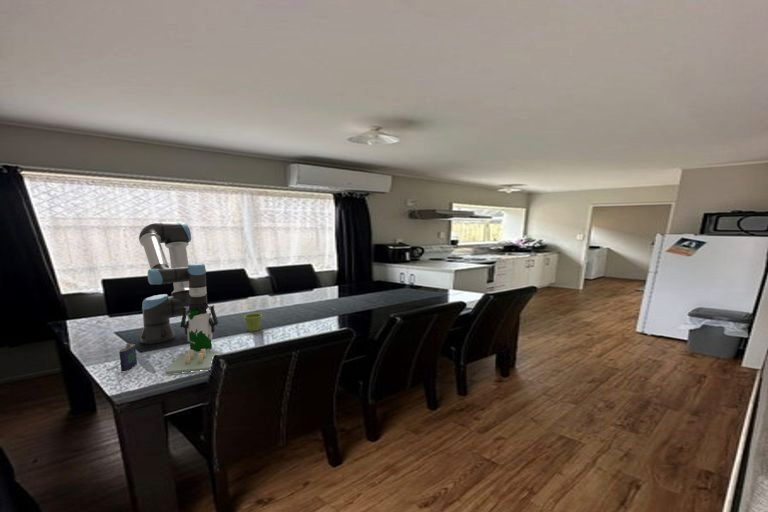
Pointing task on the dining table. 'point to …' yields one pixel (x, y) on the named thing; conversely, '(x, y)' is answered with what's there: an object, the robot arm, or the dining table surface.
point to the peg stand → (192, 362)
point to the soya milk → (199, 330)
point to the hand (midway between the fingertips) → (200, 339)
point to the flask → (128, 357)
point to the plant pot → (253, 322)
